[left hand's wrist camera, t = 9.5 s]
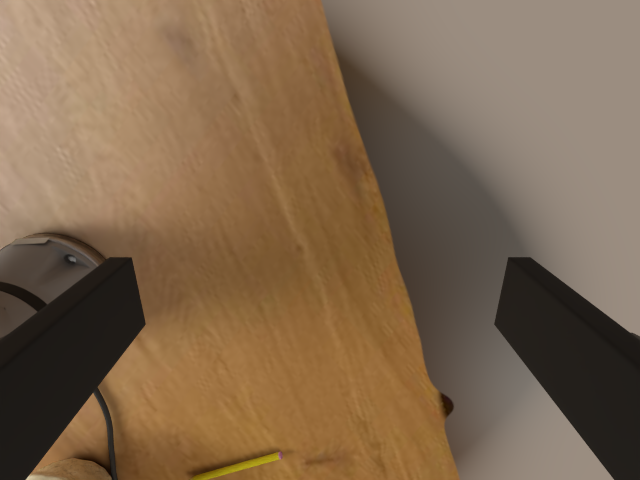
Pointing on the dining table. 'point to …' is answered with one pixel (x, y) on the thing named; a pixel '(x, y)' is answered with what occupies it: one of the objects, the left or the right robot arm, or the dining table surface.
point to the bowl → (71, 471)
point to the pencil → (238, 466)
